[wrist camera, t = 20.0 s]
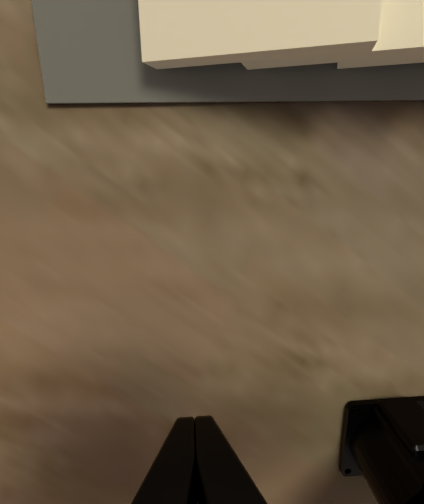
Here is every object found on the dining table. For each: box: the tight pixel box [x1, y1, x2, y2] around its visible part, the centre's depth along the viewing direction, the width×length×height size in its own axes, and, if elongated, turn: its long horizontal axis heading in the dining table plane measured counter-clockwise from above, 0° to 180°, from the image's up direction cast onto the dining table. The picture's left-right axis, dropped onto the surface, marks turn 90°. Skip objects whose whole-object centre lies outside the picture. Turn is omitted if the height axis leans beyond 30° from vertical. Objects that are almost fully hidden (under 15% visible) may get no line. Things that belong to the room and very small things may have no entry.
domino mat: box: [31, 0, 424, 104], centre depth 17 cm, size 8×27×1 cm, turn 91°
